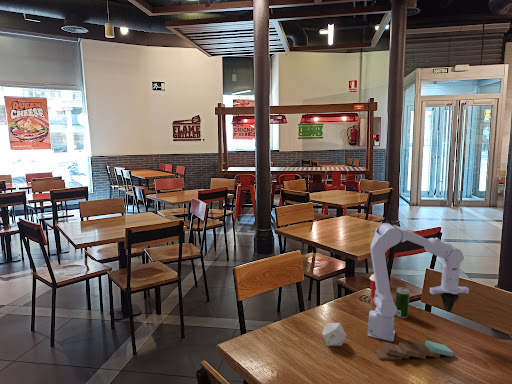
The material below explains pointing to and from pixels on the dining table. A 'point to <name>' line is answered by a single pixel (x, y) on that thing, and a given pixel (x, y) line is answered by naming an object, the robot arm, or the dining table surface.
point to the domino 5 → (439, 348)
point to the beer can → (402, 302)
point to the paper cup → (373, 289)
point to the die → (334, 334)
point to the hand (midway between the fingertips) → (447, 310)
